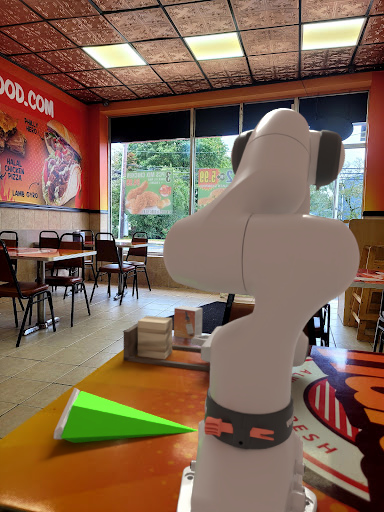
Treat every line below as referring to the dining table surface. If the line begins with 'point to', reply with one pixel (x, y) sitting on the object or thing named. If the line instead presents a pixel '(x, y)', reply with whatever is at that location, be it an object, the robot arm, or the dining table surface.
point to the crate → (155, 337)
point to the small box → (187, 321)
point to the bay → (132, 350)
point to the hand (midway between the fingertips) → (192, 339)
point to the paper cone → (108, 421)
